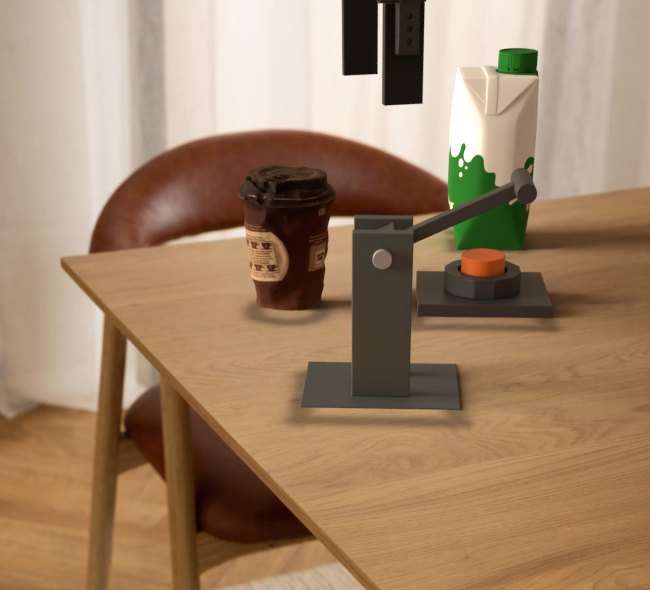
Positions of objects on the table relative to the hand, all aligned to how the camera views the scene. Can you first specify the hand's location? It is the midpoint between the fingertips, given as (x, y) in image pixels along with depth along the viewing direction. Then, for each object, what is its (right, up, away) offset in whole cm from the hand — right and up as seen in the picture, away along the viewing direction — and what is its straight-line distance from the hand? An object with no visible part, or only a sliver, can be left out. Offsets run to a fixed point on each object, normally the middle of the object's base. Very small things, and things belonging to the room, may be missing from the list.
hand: (379, 88), depth 88 cm
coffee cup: (-8, -13, +23) cm, 28 cm away
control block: (+11, -13, +23) cm, 29 cm away
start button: (+11, -10, +22) cm, 26 cm away
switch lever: (+5, -11, -1) cm, 12 cm away
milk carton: (+14, -2, +44) cm, 46 cm away
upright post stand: (0, -22, +5) cm, 23 cm away
